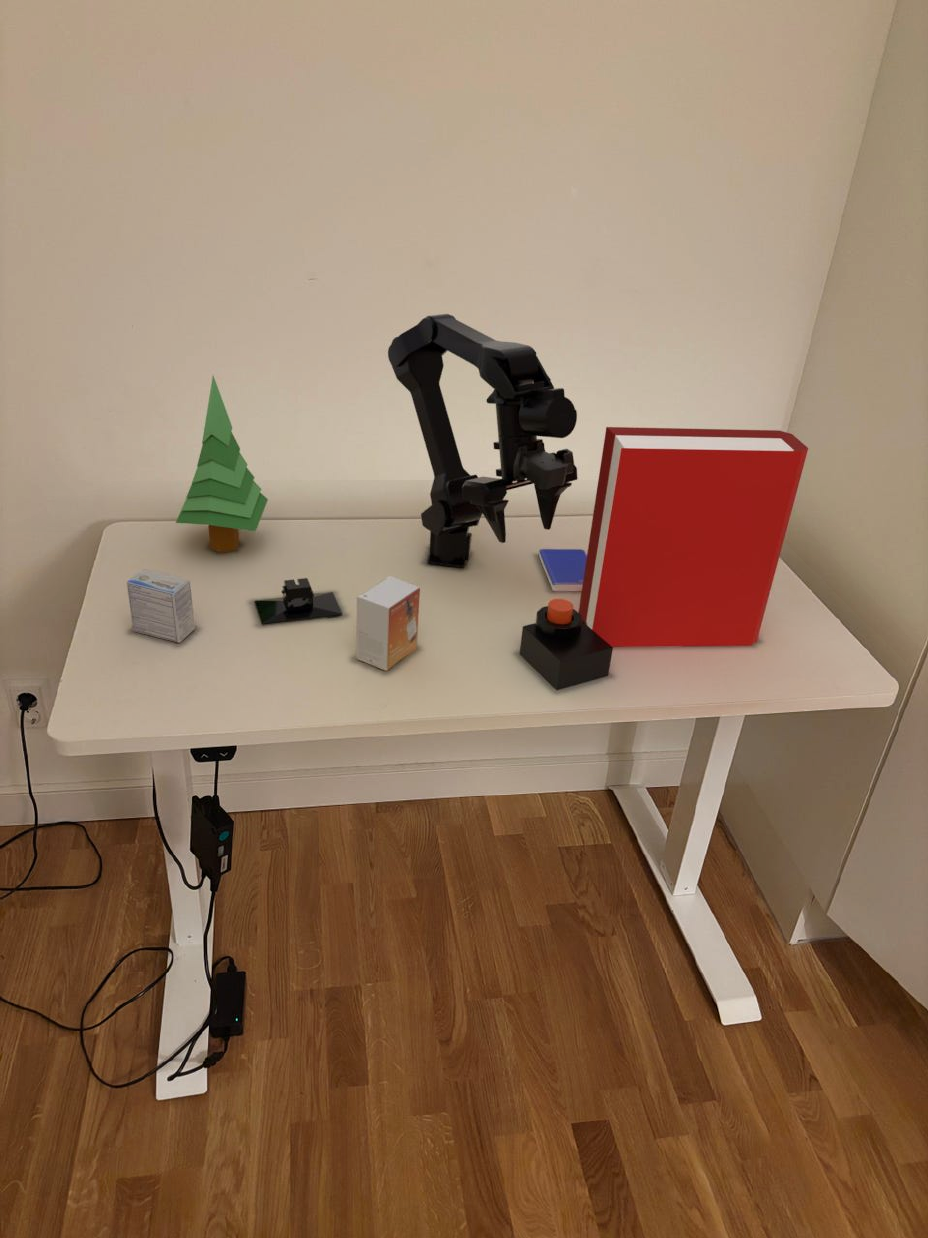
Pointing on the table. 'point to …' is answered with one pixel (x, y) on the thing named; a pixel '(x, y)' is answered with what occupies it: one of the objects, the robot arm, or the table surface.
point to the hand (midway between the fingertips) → (525, 535)
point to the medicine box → (161, 605)
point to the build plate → (297, 604)
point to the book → (687, 534)
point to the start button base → (565, 651)
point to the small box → (387, 622)
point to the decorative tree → (222, 483)
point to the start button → (560, 611)
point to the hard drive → (564, 568)
